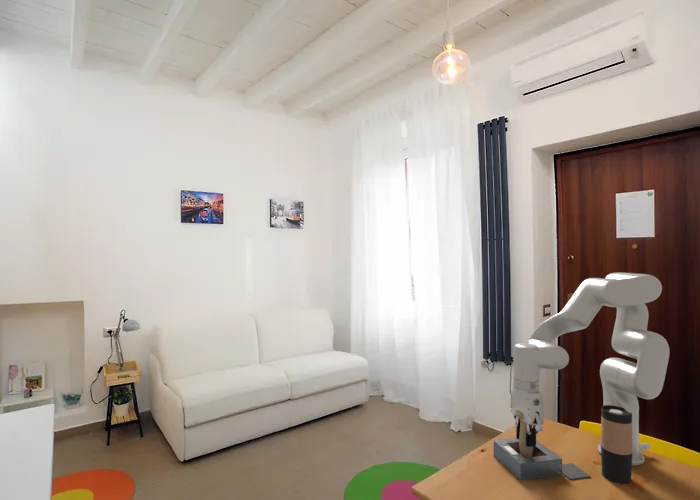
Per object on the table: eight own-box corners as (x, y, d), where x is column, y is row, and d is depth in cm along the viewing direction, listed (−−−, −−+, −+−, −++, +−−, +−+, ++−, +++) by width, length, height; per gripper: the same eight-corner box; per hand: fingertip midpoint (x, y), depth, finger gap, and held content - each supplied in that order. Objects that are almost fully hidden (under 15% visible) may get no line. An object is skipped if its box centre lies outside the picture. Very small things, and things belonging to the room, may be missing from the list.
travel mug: (598, 477, 114) (598, 410, 114) (603, 467, 120) (603, 402, 120) (630, 488, 109) (630, 418, 109) (633, 477, 115) (634, 409, 115)
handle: (539, 464, 119) (540, 415, 118) (519, 464, 119) (519, 415, 119) (532, 455, 123) (532, 409, 123) (512, 455, 123) (512, 409, 123)
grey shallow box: (531, 451, 129) (531, 435, 129) (562, 475, 115) (562, 457, 115) (493, 455, 126) (493, 439, 126) (520, 480, 113) (520, 462, 113)
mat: (572, 464, 121) (572, 463, 121) (590, 477, 114) (590, 475, 114) (552, 466, 120) (552, 465, 120) (569, 479, 113) (569, 478, 113)
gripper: (556, 392, 113) (555, 455, 113) (520, 374, 130) (520, 429, 130) (533, 394, 112) (533, 457, 112) (500, 376, 128) (499, 431, 128)
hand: (526, 441), depth 121 cm, fingers closed on handle, 3 cm apart
